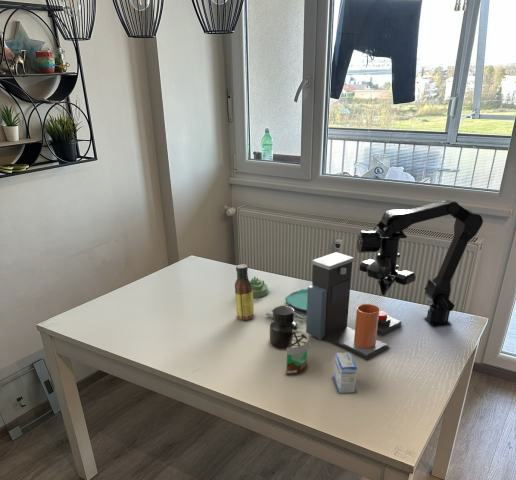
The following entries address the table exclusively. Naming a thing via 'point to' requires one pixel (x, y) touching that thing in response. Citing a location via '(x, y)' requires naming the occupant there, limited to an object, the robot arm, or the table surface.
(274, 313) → the ink bottle
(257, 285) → the decorative artifact
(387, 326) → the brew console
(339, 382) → the medicine box
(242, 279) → the sauce bottle
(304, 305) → the cutlery set
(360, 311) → the cup
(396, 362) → the table surface
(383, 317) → the button
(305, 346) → the food container
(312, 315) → the coffee maker
